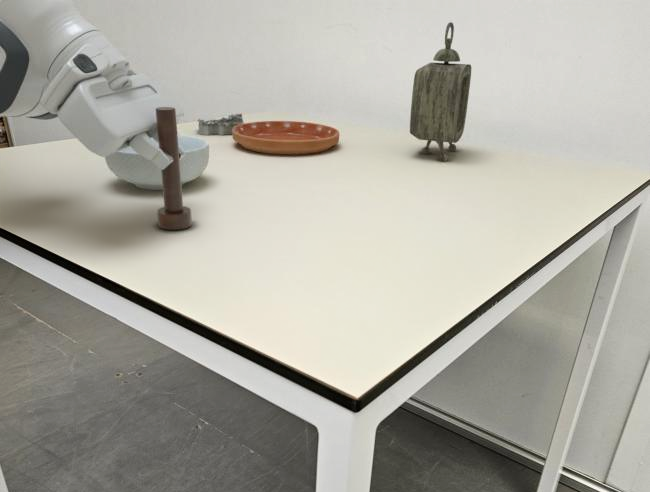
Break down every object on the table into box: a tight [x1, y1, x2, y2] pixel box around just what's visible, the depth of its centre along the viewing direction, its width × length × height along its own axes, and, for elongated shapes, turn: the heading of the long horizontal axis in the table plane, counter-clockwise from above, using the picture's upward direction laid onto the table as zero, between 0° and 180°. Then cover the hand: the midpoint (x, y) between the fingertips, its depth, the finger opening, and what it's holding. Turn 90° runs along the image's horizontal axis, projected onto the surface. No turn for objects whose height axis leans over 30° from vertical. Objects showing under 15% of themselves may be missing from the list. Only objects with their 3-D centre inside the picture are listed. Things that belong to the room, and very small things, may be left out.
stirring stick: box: [155, 107, 193, 231], centre depth 78 cm, size 4×4×15 cm
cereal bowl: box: [104, 134, 210, 191], centre depth 99 cm, size 17×17×7 cm
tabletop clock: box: [409, 21, 472, 162], centre depth 120 cm, size 14×9×25 cm, turn 160°
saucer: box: [231, 120, 340, 156], centre depth 130 cm, size 23×23×4 cm
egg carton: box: [197, 113, 245, 136], centre depth 141 cm, size 11×8×4 cm
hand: (174, 162), depth 78 cm, fingers closed on stirring stick, 2 cm apart
